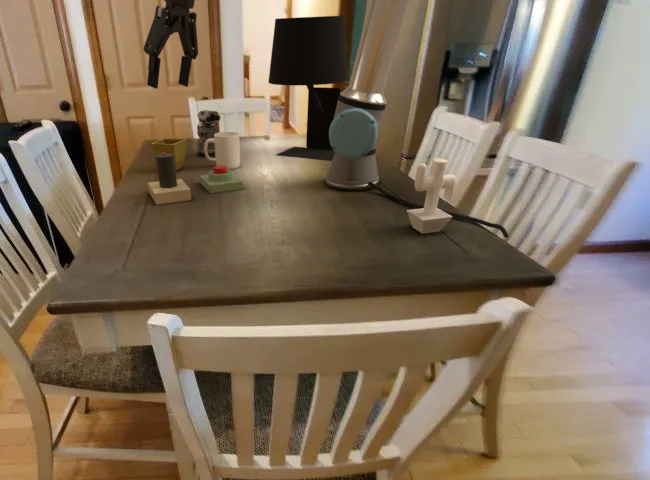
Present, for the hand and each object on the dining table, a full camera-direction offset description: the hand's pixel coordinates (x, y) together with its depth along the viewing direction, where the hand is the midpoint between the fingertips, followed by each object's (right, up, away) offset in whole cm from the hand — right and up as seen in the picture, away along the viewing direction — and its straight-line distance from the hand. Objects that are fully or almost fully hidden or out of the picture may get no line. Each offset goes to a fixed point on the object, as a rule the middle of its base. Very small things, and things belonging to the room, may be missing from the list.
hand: (168, 86), depth 122 cm
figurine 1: (+8, +6, +52) cm, 52 cm away
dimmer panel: (-1, -25, +11) cm, 27 cm away
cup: (+13, -5, +37) cm, 40 cm away
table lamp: (+42, +2, +45) cm, 62 cm away
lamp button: (+13, -16, +16) cm, 26 cm away
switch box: (+13, -19, +18) cm, 29 cm away
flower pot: (-5, -6, +36) cm, 37 cm away
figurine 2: (+62, -43, -16) cm, 77 cm away
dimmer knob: (-2, -22, +10) cm, 24 cm away
